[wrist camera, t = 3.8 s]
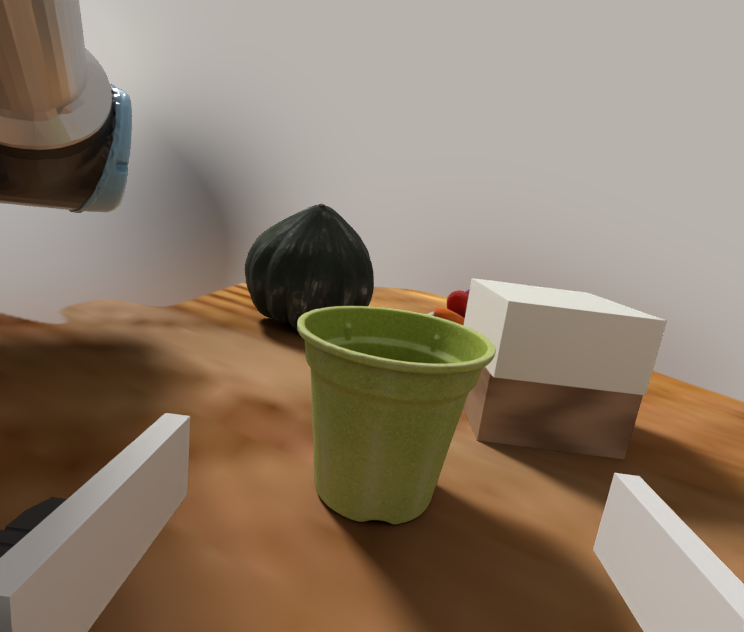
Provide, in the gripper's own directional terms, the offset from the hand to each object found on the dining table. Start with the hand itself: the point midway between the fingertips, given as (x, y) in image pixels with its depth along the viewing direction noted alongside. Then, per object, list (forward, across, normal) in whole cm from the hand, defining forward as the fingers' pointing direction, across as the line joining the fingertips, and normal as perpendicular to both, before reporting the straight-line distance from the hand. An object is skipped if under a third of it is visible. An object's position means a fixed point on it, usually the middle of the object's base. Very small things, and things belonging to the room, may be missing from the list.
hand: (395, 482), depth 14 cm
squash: (+39, -9, -6) cm, 41 cm away
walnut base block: (+20, +12, -6) cm, 24 cm away
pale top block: (+20, +12, -1) cm, 23 cm away
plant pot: (+8, 0, -6) cm, 10 cm away
